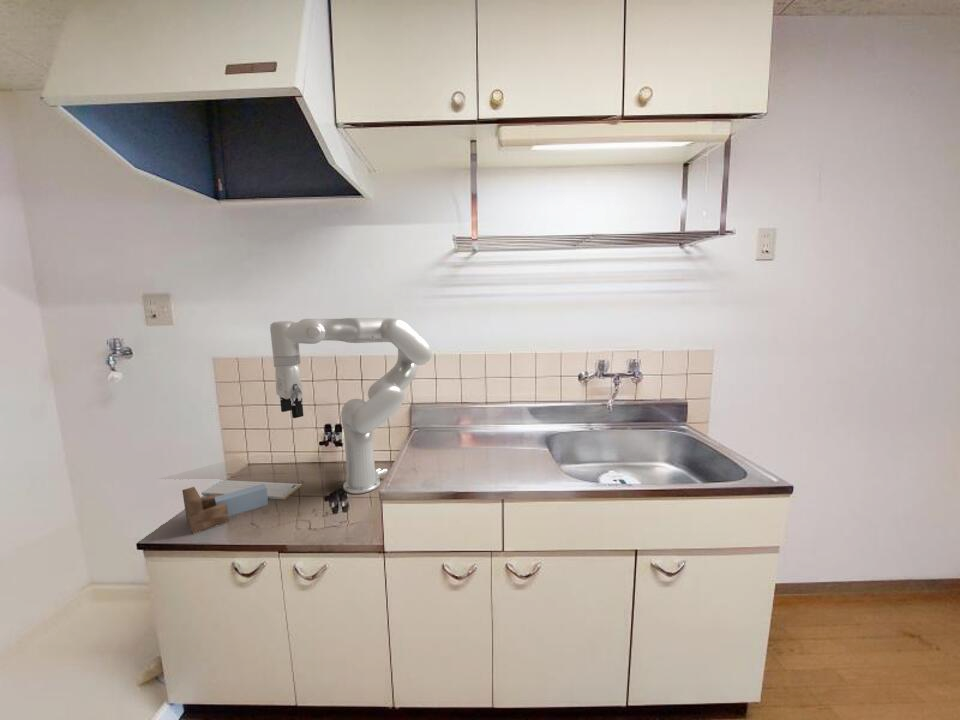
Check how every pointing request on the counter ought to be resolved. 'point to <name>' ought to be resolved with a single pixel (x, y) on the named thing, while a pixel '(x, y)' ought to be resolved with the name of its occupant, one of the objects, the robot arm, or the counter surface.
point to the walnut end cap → (203, 510)
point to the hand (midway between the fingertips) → (292, 414)
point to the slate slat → (244, 499)
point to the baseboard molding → (272, 488)
